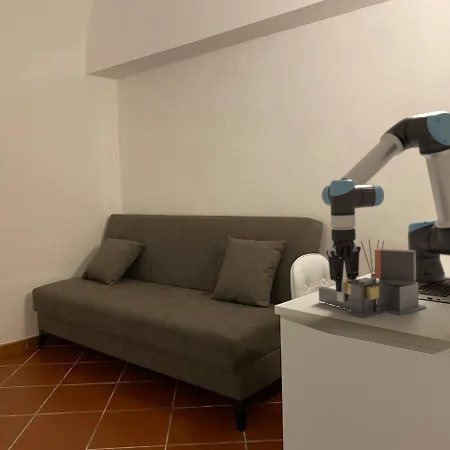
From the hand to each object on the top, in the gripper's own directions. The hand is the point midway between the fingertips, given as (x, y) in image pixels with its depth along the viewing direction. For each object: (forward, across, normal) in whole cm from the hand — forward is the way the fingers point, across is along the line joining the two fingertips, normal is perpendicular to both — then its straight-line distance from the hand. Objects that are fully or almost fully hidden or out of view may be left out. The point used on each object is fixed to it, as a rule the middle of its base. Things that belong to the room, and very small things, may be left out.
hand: (345, 300), depth 162 cm
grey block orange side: (-6, -12, +10) cm, 17 cm away
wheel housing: (+3, -12, +11) cm, 16 cm away
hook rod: (-3, 0, +5) cm, 6 cm away
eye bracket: (+3, 0, 0) cm, 3 cm away
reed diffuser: (+3, -21, -5) cm, 22 cm away
